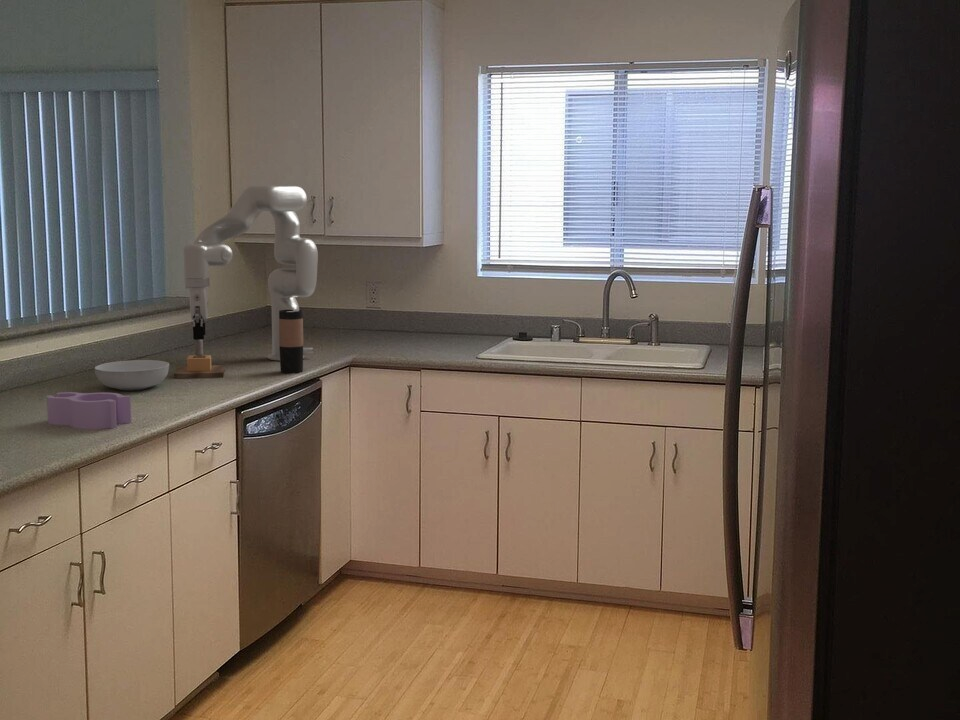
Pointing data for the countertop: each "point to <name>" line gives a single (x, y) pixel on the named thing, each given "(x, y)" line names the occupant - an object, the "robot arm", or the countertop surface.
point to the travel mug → (291, 341)
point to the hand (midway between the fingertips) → (199, 337)
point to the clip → (89, 410)
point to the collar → (199, 363)
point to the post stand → (213, 373)
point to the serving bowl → (132, 374)
